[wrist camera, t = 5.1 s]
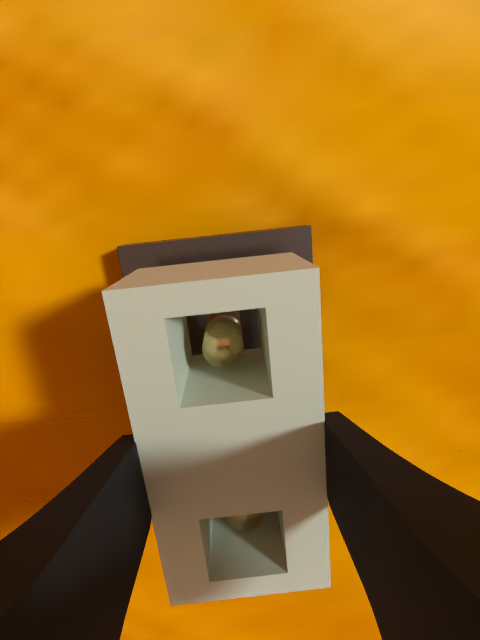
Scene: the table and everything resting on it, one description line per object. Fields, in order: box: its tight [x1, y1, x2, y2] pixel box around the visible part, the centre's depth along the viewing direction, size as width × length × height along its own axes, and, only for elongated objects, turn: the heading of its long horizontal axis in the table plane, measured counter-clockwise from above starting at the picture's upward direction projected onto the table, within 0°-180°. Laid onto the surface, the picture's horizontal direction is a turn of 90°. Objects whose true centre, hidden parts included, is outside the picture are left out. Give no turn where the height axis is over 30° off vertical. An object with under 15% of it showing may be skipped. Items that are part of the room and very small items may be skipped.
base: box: [117, 225, 313, 530], centre depth 13 cm, size 12×7×4 cm, turn 6°
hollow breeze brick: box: [101, 252, 331, 606], centre depth 11 cm, size 10×5×4 cm, turn 6°
